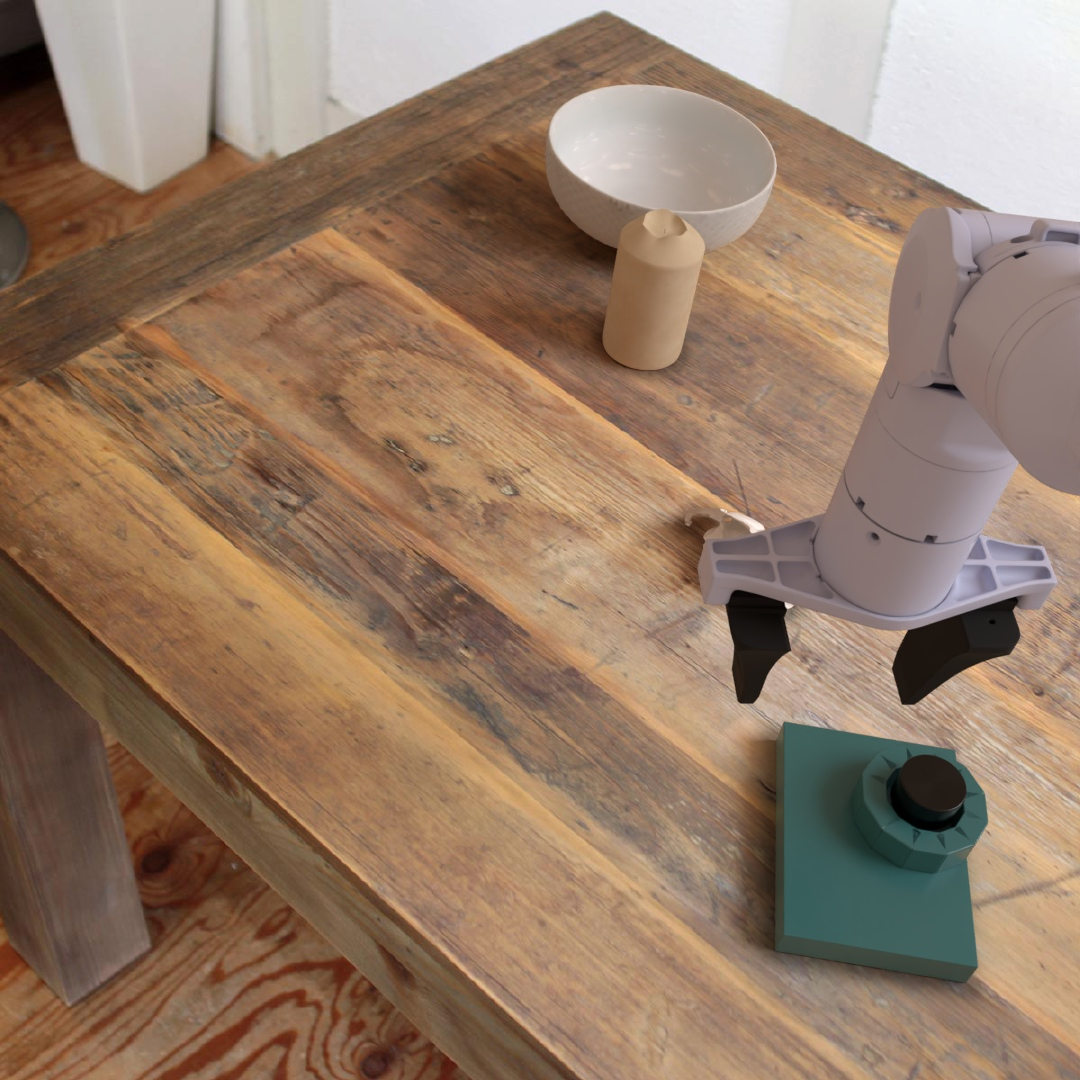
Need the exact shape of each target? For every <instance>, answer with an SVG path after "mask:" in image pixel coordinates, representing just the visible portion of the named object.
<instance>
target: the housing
mask: <svg viewBox="0 0 1080 1080" xmlns="http://www.w3.org/2000/svg"><path fill="white" fill-rule="evenodd" d="M775 741H776V742H775V761H776V762H775V879H774V880H775V887H774V889H775V890H774V893H775V896H774V897H775V899H774V900H775V901H774V902H775V904H774V906H775V907H774V909H775V910H774V926H775V927H774V951H775V952H780V953H786V954H792V955H796V956H803V957H804V956H805V957H810V958H816V959H822V960H826V961H827V960H828V961H832V962H839V963H844V964H845V963H846V964H851V965H857V966H862V967H869V968H875V969H880V970H886V971H892V972H899V973H905V974H911V975H917V976H922V977H928V978H934V979H940V980H946V981H952V982H957V983H965V984H966V983H968V981H969V979H970V978H971V977H972V976H973V975H974V974H975V972H976V971H977V970H978V969H979V962H978V961H979V959H978V951H977V941H976V933H975V924H974V915H973V905H972V896H971V895H972V894H971V887H970V885H971V884H970V877H969V876H970V875H969V865H968V856H969V855H970V854H971V852H972V851H973V850H974V847H975V846H976V845H977V843H978V842H979V840H980V838H981V836H982V835H983V833H984V832H985V830H986V828H987V827H988V825H989V815H988V806H987V805H988V804H987V798H986V793H985V791H984V789H983V788H982V787H981V785H980V784H979V782H978V781H977V779H976V778H975V777H974V775H973V774H972V773H971V772H970V769H968V767H967V766H966V765H964V764H963V763H961V762H960V761H958V760H957V752H956V750H955V749H952V748H946V747H940V746H934V745H929V744H928V745H927V744H923V743H917V742H916V743H915V742H910V741H903V740H898V739H893V738H892V739H891V738H886V737H881V736H875V735H874V736H873V735H867V734H862V733H856V732H850V731H844V730H839V729H832V728H826V727H819V726H815V725H814V726H813V725H808V724H800V723H796V722H792V721H791V722H790V721H783V722H782V725H781V727H780V730H779V732H778V735H777V737H776V739H775ZM923 754H928V755H934V756H938V757H940V758H943V759H945V760H947V761H948V762H950V763H951V764H952V765H954V766H955V767H956V768H957V769H958V770H959V772H960V773H961V774H962V776H963V778H964V780H965V783H966V787H967V794H966V798H965V801H964V802H963V804H962V806H961V807H960V809H959V810H958V812H957V814H956V815H955V817H954V818H953V820H952V821H951V822H950V823H949V824H948V825H947V826H945V827H943V828H940V829H936V830H925V829H921V828H918V827H915V826H913V825H911V824H909V823H908V822H906V821H905V820H904V819H903V818H902V817H901V816H900V815H899V814H898V813H897V812H896V810H895V808H894V807H893V804H892V801H891V796H890V792H891V787H892V785H893V783H894V781H895V779H896V777H897V775H898V774H899V772H900V770H901V768H902V766H903V765H904V763H905V762H906V761H907V760H908V759H910V758H912V757H914V756H917V755H923Z"/></svg>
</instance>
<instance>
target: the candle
mask: <svg viewBox="0 0 1080 1080" xmlns="http://www.w3.org/2000/svg"><path fill="white" fill-rule="evenodd" d="M704 252H705V243H704V241H703V239H702V237H701V236H700V234H699V233H698V232H697V231H696V230H695V229H694V228H693V227H692V226H691V225H690V224H689V223H687V222H686V221H685V220H683V219H682V218H681V217H680V216H678V215H676V214H674V213H673V212H671V211H670V210H668V209H657V210H653V211H650V212H648V213H646V214H645V215H643V216H641V217H638V218H637V219H635V220H633V221H631V222H629V223H628V224H627V225H625V226H624V227H623V229H622V231H621V233H620V238H619V244H618V249H617V250H616V255H615V261H614V268H613V271H612V272H613V274H612V277H611V278H612V279H611V283H610V284H611V285H610V291H609V295H608V302H607V305H606V306H607V307H606V312H605V319H604V324H603V331H602V345H603V348H604V350H605V352H606V353H607V354H608V355H609V356H610V358H611V359H613V360H614V361H615V362H617V363H618V364H621V365H623V366H625V367H627V368H631V369H635V370H640V371H657V370H662V369H665V368H667V367H669V366H671V365H672V364H674V363H675V362H676V361H677V360H678V358H679V357H680V354H681V353H682V349H683V346H684V341H685V337H686V334H687V333H686V332H687V328H688V325H689V320H690V316H691V312H692V307H693V302H694V299H695V294H696V290H697V286H698V282H699V277H700V273H701V269H702V264H703V261H704V260H703V259H704V256H705V254H704Z"/></svg>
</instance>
